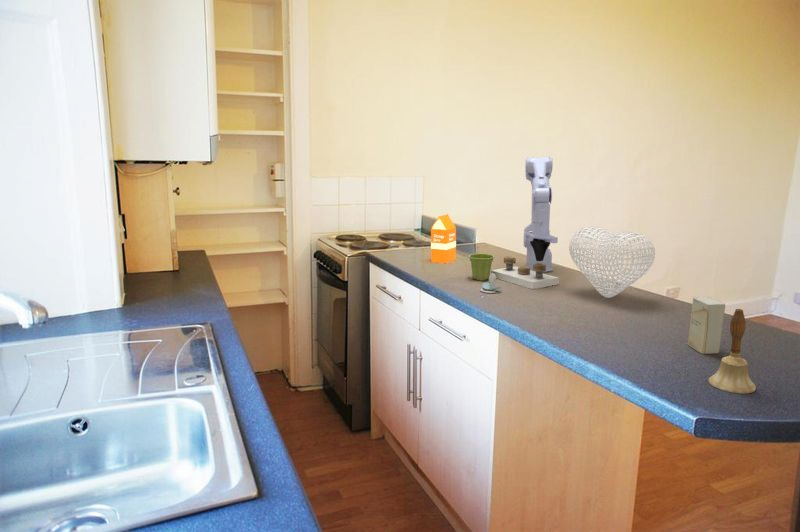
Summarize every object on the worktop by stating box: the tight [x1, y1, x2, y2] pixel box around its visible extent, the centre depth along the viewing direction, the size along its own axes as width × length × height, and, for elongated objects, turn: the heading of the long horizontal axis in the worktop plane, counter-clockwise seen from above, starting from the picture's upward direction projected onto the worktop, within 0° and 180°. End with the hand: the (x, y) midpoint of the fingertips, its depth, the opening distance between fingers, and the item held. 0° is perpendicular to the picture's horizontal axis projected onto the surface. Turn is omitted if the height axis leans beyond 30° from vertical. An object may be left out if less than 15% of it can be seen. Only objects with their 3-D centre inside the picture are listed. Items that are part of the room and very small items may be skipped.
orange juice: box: [430, 213, 457, 264], centre depth 238 cm, size 8×9×20 cm
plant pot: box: [468, 253, 495, 281], centre depth 206 cm, size 9×9×9 cm
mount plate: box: [490, 266, 560, 290], centre depth 202 cm, size 12×23×2 cm, turn 29°
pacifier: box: [479, 273, 502, 294], centre depth 188 cm, size 7×6×6 cm
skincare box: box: [687, 296, 726, 355], centre depth 130 cm, size 6×4×12 cm
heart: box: [568, 225, 656, 299], centre depth 175 cm, size 28×16×22 cm, turn 31°
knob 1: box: [503, 255, 517, 270], centre depth 208 cm, size 4×4×5 cm
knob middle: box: [518, 265, 530, 275], centre depth 202 cm, size 4×4×5 cm
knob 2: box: [533, 263, 546, 278], centre depth 194 cm, size 4×4×5 cm
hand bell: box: [708, 308, 757, 395], centre depth 110 cm, size 8×8×16 cm
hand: (539, 260), depth 194 cm, fingers closed
